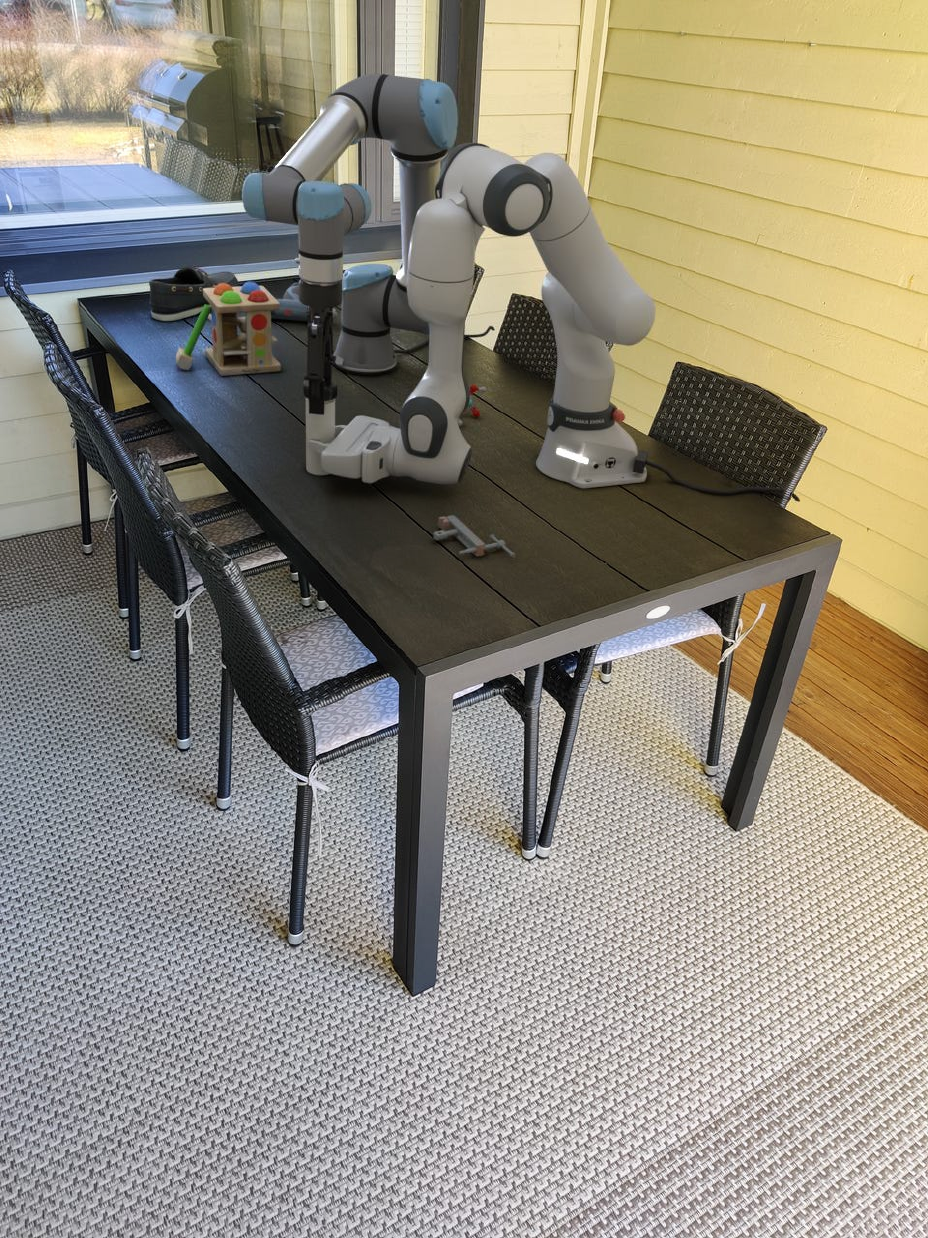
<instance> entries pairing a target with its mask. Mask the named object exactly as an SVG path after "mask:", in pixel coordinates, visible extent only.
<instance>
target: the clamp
mask: <svg viewBox="0 0 928 1238" xmlns="http://www.w3.org/2000/svg"><path fill="white" fill-rule="evenodd" d="M437 528H438V529H440V530H437V531H433V539H434V540H436V541H441V540H447V538H449V537H453V536H454V537H455V538H456V539H457V540H458V541H459V542H460V543H461V544H462V545H463V546H465V547H466V549H464V550H459V551H458V554H459V555H464V554H465V555H467V554H468V555H469V554H473V555H474V556H475V557H482V556H484V555H485V552H484V551H486V550H491V549H495V548H496V549H503V550H504V551H505V552H506V553H507V554H509V556H510V558H511V559H513V558H515V557H516V556H517V555H516V552H512V550H510V549H509V548H508V547H506V542H505V540H504V539H499V540H498V538H496V536H495V534H493V533H492V534H490V535H489V540H493V543H488V544H486V543H485V542H484V541H483V540H481V539H480V538H479V537H478V536H477V535H476V534H475V533H474V532H473V531H471V529H470V528H469V527H468V526H467V525H465V524H464V523H463V522H462V521H461V520H460V519H459V518H458V517H457V516H456V515H448V516H445V515H444V516H439V517H438V523H437Z"/></svg>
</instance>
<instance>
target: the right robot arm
mask: <svg viewBox="0 0 928 1238" xmlns="http://www.w3.org/2000/svg"><path fill="white" fill-rule="evenodd" d="M437 190H438V192H439V197H438V195H437ZM435 197H436V199H435V200H431V201H429V202H427V203H425V204H424V205H422V206H421V208H420V209H419V210H418V212H417V215H416V218H415V222H414V226H413V230H412V235H411V240H410V246H409V254H408V264H407V296H408V303H409V307H410V309H411V310H412V312H413V313H414V314H415V315H416V316H417V317H418V318H420V319H421V320H423V321H425V322H428V323H429V329H430V334H428V335H429V338H428V339H429V343H428V363H427V364H428V365H427V368H426V370H425V372H424V374H423V375H422V377H421V378H420V380H419V382H418V384H417V385H416V387H415V388H414V390H413V391H412V392H411V393H410V395H408V397H407V398H406V400H405V401H404V402H403V405H402V407H401V409H400V413H399V428H398V427H395V426H393V425H390V423H389V422H388V421H387V420H383V419H381V418H376V417H372V416H368V415H356V416H355V417H354V418H353V419H351V421H350V422H349V423H348V424H347V425H346V424H338V425H335V439H334V440H333V441H332V442H331V443H330V444H329V443H326V444H323V443H321V442H320V440H319V439H313V438H312V439H311V440H310V441H309V442H308V449H309V450H313V451H317V452H318V453H320V454H321V468H322V469H323V470H324V471H325V472H327V473H330V474H329V475H332V476H333V475H334V476H338V477H342V478H348V479H360V478H361V481H362V482H363V483H366V484H373V483H375V482H377V481H379V480H382V479H385V478H387V477H389V476H393V477H398V478H399V477H400V478H401V477H409V478H412V479H414V480H416V481H419V482H424V483H429V484H437V485H456V484H458V483H460V482H462V481H461V480H462V479H463V478H464V476H465V475H466V473H467V470H468V468H469V465H470V462H471V459H472V454H473V453H472V446H471V445H470V444H469V443H468V442H467V440H466V439H465V437H464V435H463V433H462V432H461V431H462V430H461V429H460V426H458V422H457V420H458V418H459V419H460V417H461V416H462V415H463V413H464V412H466V410H467V408H468V407H467V406H468V404H469V400H470V393H471V391H470V385H469V383H468V379H467V376H466V373H465V369H464V351H465V338H464V335H466V334H465V332H466V319H467V314H468V310H469V306H470V302H471V297H472V292H473V284H474V278H475V265H476V264H475V263H476V251H477V247H478V244H479V241H480V239H481V237H482V235H483V233H484V232H485V231H486V228H488V229H490V230H492V231H493V232H495V233H496V234H498V235H501V236H505V237H510V238H511V237H521V236H524V235H527V234H529V235H530V237H531V239H532V241H533V243H534V245H535V248H536V250H537V251H538V254H539V256H540V258H541V260H542V262H543V264H544V266H545V269H546V270H547V272H546V275H545V276H544V278H543V281H542V284H541V292H540V293H541V300H542V302H543V304H544V306H545V308H546V309H547V312H548V314H549V317H550V320H551V324H552V327H553V333H554V338H555V346H556V359H557V361H556V362H557V363H556V373H555V382H554V389H553V395H552V396H551V397H550V401H549V407H548V411H547V420H546V422H547V428H546V433H545V437H544V440H543V444H542V446H541V449H540V452H539V454H538V456H537V459H536V460H535V466H536V467H537V469H538V470H539V471H540V472H541V473H542V474H544V475H546V476H548V477H550V478H552V479H555V480H557V481H561V482H566V483H567V484H570V485H572V486H574V487H576V488H578V489H591V488H592V489H593V488H599V487H600V488H602V487H611V486H619V485H628V484H637V483H644V482H646V480H647V477H648V470H647V468H646V466H649V467H651V468H654V469H655V470H656V469H657V470H658V471H661V472H663V473H664V474H665V475H666V476H667V477H668V478H669V479H670V480H671V481H672V482H673V483H676V484H678V485H681V486H682V487H686V488H688V489H691V490H694V491H697V492H701V493H707V494H716V495H734V494H739V493H744V492H771V493H773V492H774V493H783V492H784V491H783V490H782V489H783V488H781V487H761V486H747V487H746V486H745V487H740V488H733V489H714V488H706V487H701V486H696V485H693V484H690V483H687V482H685V481H682V480H680V479H679V478H678V477H677V478H676V477H675V476H674V475H673V474H672V473H671V471H669V469H667V468H665V467H664V466H662V465H659V464H657V463H655V462H652V461H649V460H648V455H649V451H647V450H642V449H638V446H637V444H636V442H635V439H634V438H633V437H632V435H630V434H629V432H628V431H626V429H624V428H623V427H622V426H621V425H620V424H621V423H623V422H624V421H626V420H625V419H626V415H625V413H624V412H623V411H622V410H621V409H618V407H617V406H616V405H615V404H614V403H613V402H611V396H612V392H613V386H614V379H615V374H616V365H615V361H614V358H613V357H612V355H611V354H610V352H609V350H608V346H607V344H606V343H609V344H615V345H621V346H626V347H628V346H629V347H630V346H635V345H637V344H639V343H641V341H644V339H645V338H647V336H648V335H649V333H650V332H651V330H652V329H653V326H654V323H655V320H656V312H657V311H656V304H655V301H654V299H653V297H651V295H649V294H648V293H647V292H646V291H645V290H644V289H643V288H642V287H641V286H640V284H639V283H638V282H637V281H636V280H635V279H634V278H633V277H632V275H631V273H630V272H629V271H628V270H627V268H626V267H625V265H624V263H623V262H622V260H621V259H620V258H619V257H618V256H617V254H616V253H615V251H614V250H613V249H612V247H611V246H610V244H609V243H608V241H607V239H606V238H605V236H604V234H603V231H602V230H601V227H600V225H599V222H598V220H597V218H596V216H595V212H594V211H593V208H592V206H591V203H590V201H589V198H588V196H587V194H586V192H585V190H584V188H583V185H582V184H581V182H580V180H579V179H578V177H577V176H576V173H575V172H574V171H573V169H572V168H571V166H570V165H569V163H568V162H567V160H565V158H563V157H562V156H561V155H559V154H557V153H554V152H542V153H538V154H536V155H533V156H531V157H530V158H529V159H527V160H526V161H525V162H524V163H523V162H521V160H519V159H517V158H515V157H514V156H511V155H510V154H508V153H507V152H503V151H500V150H497V149H494V148H492V147H490V146H488V145H486V144H483V143H479V142H464V143H461V144H458V145H456V146H454V147H453V148H452V149H451V150H450V152H448V153H447V155H446V156H445V158H444V161H443V162H442V165H441V166H440V174H439V180H438V182H437V184H436V186H435ZM485 227H486V228H485ZM792 492H793V491H791V493H790V495H789V494H787V495H788V496H789V497H791V494H792ZM783 494H784V493H783ZM791 498H792V499H793V500H794V501H796V502H797V503H798V502H801V499H800V498H799V497H798V495H797V494H796V493H794V492H793V494H792V497H791Z"/></svg>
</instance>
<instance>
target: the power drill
mask: <svg viewBox="0 0 928 1238" xmlns="http://www.w3.org/2000/svg"><path fill="white" fill-rule="evenodd" d="M275 299H276V300H277V301H278V302H279V303H280V310H271V319H274V320H275V319H276V320H283V321H294V322H295V321H297V322H308V314H309V315H310V311H311V310H312V308H311V307H309V306H306V305H304V304H302V303H301V302H300V301H299V282H293V283H292V284H291V285H290V286H289V287H288V288H287V289H286V291H285V292H284V294H283V297H282V298H275ZM337 317H338V312H337V311H336V308H335V307H333V320H334V319H336V318H337Z"/></svg>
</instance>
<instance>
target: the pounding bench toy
mask: <svg viewBox="0 0 928 1238" xmlns="http://www.w3.org/2000/svg"><path fill="white" fill-rule="evenodd" d="M203 296H204V297H205V299H206V300H207V301H208V302H209V304H210V305H211V307H210V306H208V305H204V307H203V309H202V311H201V312H200V313H199V316H198V318H197V320H196V322H195V324H194V327H193V329H192V331H191V332H190V333H191V334H190V336H189V338H188V340H187V343H186V344H185V347H184V348H182V347H180V346H179V347H178V349H177V351H176V354H175V357H174V358H175V362H176V365H177V366H178V368H179V369H182V370H185V371H189V370H190V369H191V367H192V365H193V363H194V356H193V351H194V348H195V347H196V345H197V342H198V340H199V337H200V336H201V333H202V332H203V329H204V326H205V325H206V322H207V320H209V321H210V322H211V336H212V337H211V338H212V339H211V340H212V348H205V349H204V352H205V353H204V355H205V357H206V359H208V361H209V363H210V364H211V365H212V366H213V367H214V369H215V370H216V371H217V372H218V374H219V375H220V376H222V377H223V376H234V375H235V376H236V375H246V374H247V375H250V374H262V373H275V372H281V370H282V364H281V363H280V362H279V360H278V359H277V358H276V357H275V356H274V355H273V348H272V347H273V345H272V344H276V343H278V342H279V341H278V339H277V338H276V337H275V336H274V334H272V318H271V310H280V303H279V302H278V301H277V300H276V299H277V298H276V297H274V296H273V295H272V294H271V293H270V292H269V290H268V289H267V288H266V287H264V285H259V284H257V283H256V282H255V281H247V282H245V283H244V284H243V285H242V286H239V287H231V286H230V285H228V284H226V283H221V284H218V285H217V286H216V287H215V288H204V289H203ZM238 313H244V314H245V315H244V316H238ZM238 329H239V331H240V333H239V334H238Z"/></svg>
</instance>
